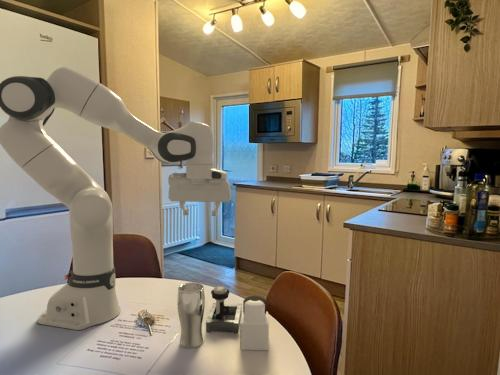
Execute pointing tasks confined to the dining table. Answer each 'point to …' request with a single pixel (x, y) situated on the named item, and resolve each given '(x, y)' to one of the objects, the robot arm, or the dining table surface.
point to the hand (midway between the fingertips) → (200, 215)
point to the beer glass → (191, 314)
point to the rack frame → (224, 325)
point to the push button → (220, 302)
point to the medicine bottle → (254, 324)
